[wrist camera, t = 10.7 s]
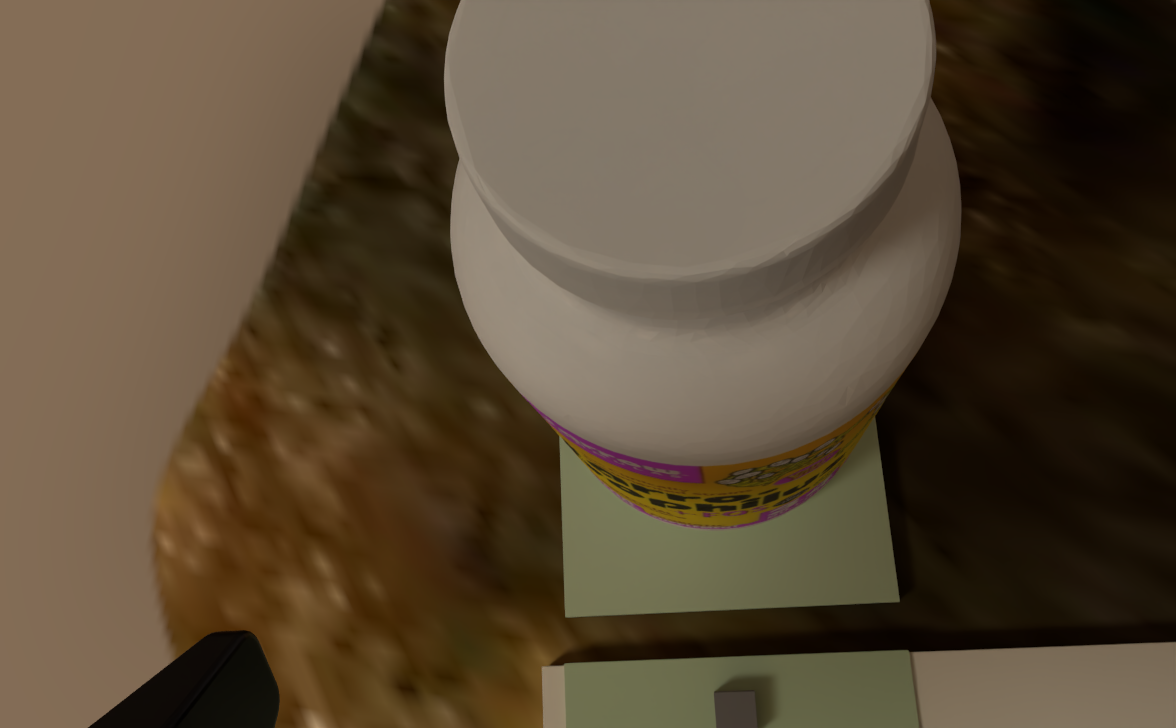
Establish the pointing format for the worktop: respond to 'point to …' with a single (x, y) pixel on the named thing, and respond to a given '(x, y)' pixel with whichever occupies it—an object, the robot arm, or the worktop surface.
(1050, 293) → the worktop surface
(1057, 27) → the worktop surface
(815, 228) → the supplement bottle
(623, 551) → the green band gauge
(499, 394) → the worktop surface
